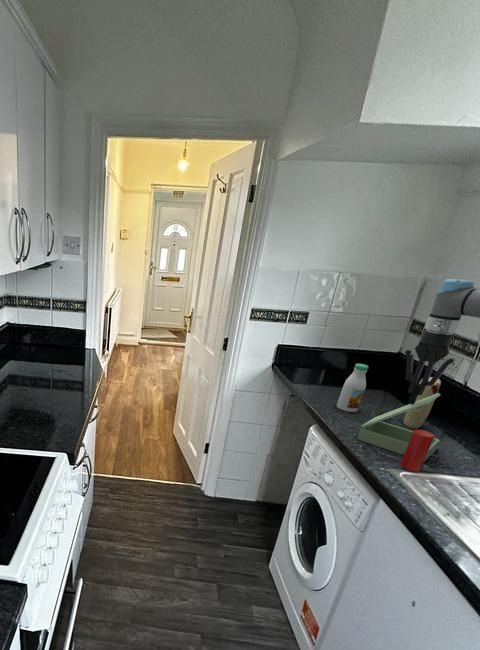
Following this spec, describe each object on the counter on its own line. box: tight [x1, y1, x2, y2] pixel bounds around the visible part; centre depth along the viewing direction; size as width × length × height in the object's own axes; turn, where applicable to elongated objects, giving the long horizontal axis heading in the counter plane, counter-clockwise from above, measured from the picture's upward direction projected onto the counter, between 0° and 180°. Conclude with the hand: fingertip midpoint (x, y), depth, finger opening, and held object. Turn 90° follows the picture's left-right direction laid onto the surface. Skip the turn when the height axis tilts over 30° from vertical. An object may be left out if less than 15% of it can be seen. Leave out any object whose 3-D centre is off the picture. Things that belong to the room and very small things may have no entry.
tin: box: [399, 429, 435, 473], centre depth 127 cm, size 5×5×12 cm
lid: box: [360, 392, 441, 429], centre depth 140 cm, size 21×14×1 cm
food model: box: [403, 376, 442, 430], centre depth 156 cm, size 10×7×20 cm
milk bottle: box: [336, 363, 369, 413], centre depth 168 cm, size 8×8×20 cm
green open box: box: [356, 421, 441, 463], centre depth 142 cm, size 20×14×5 cm
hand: (411, 403), depth 137 cm, fingers closed
